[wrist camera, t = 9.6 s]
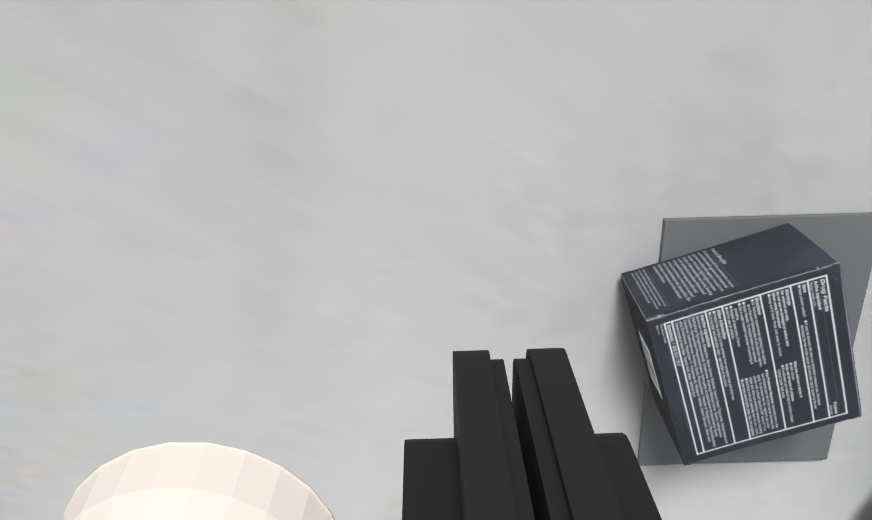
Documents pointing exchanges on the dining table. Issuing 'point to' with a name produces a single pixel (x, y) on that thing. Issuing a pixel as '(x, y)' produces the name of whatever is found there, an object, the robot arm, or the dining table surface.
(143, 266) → the dining table surface
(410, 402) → the dining table surface
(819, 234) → the mat
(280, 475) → the kettle
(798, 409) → the small box
